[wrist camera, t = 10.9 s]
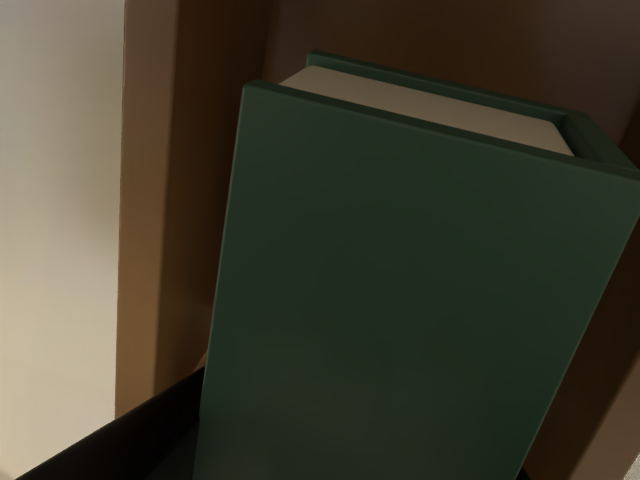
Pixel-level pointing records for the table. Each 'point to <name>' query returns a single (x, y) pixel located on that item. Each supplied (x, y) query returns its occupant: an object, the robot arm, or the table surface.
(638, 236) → the drawer
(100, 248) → the table surface
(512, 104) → the book
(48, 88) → the table surface
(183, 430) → the robot arm
